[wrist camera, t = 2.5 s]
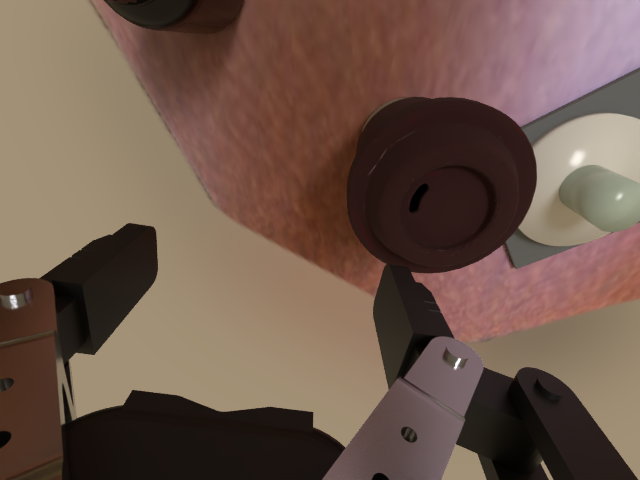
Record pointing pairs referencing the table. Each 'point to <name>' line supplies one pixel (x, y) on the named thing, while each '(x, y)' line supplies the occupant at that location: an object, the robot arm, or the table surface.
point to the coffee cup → (439, 182)
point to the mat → (617, 97)
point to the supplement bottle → (178, 14)
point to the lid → (585, 180)
